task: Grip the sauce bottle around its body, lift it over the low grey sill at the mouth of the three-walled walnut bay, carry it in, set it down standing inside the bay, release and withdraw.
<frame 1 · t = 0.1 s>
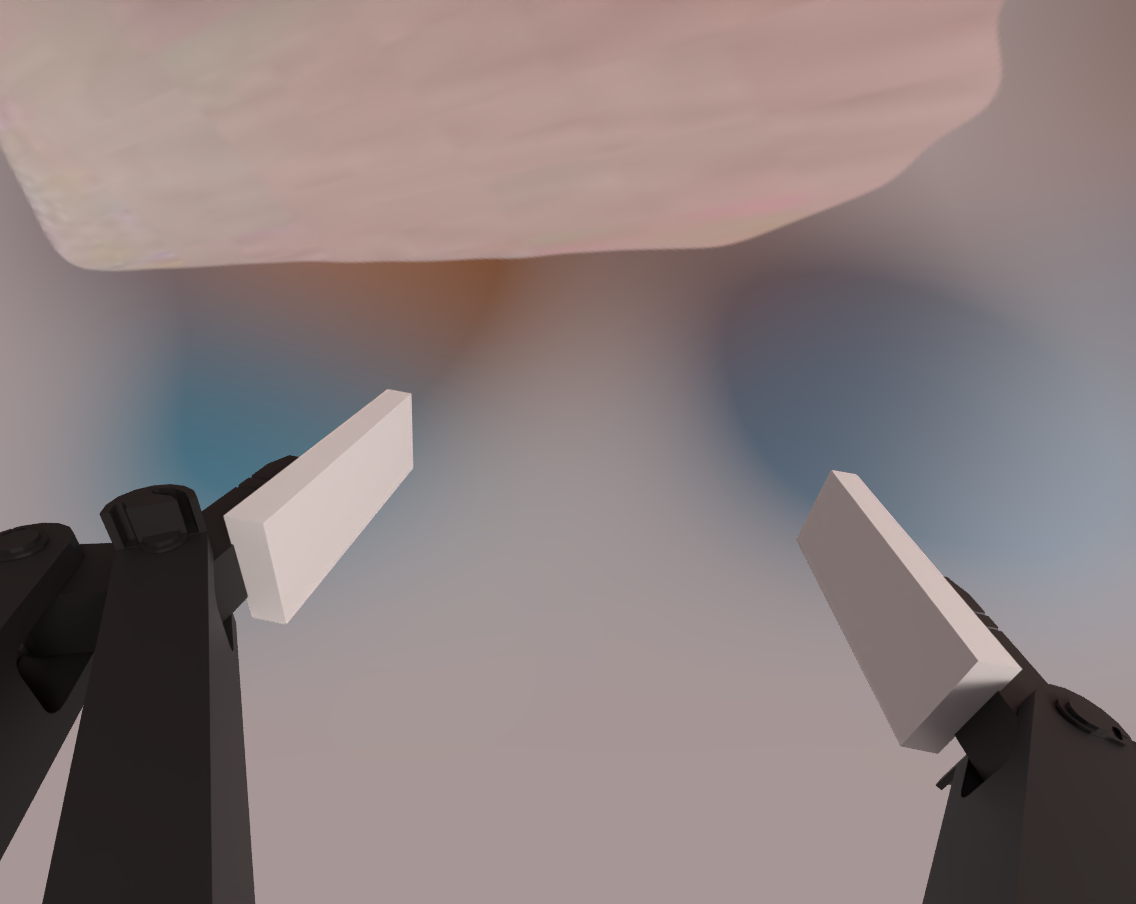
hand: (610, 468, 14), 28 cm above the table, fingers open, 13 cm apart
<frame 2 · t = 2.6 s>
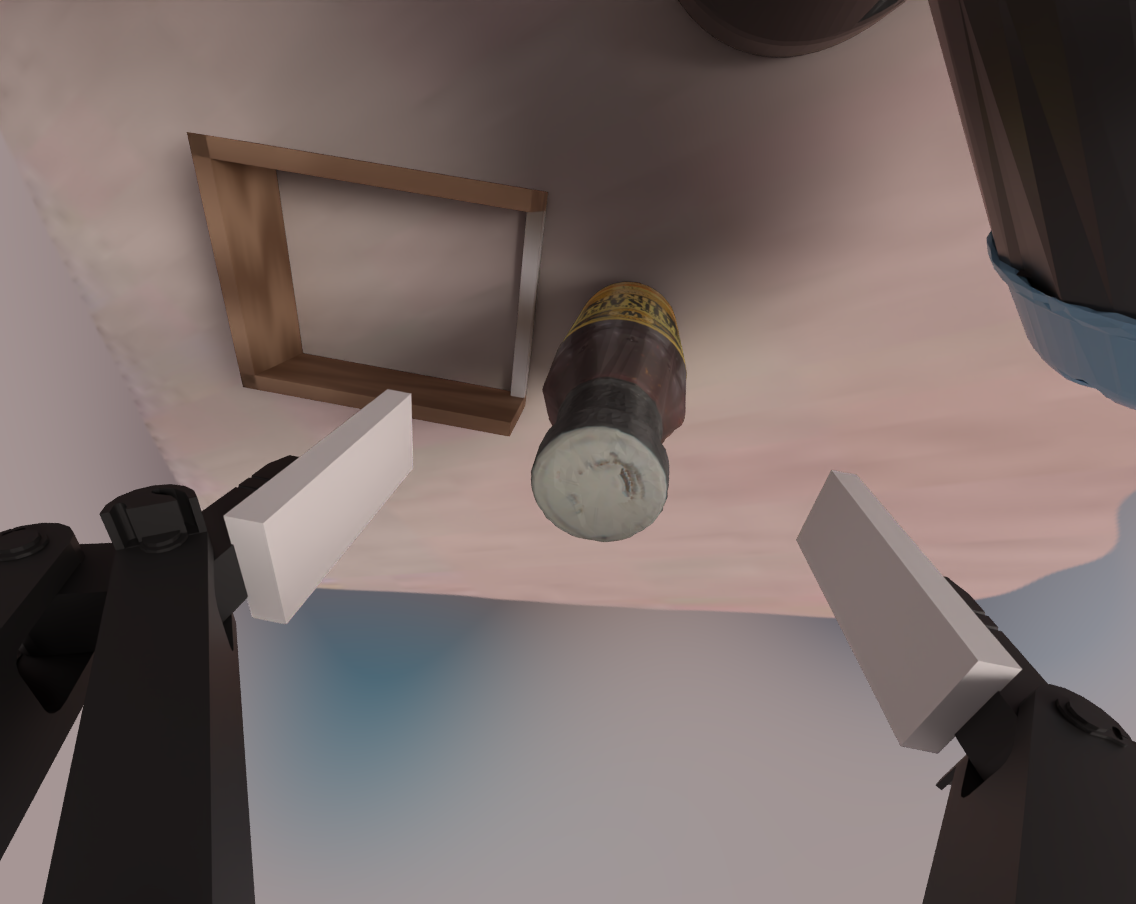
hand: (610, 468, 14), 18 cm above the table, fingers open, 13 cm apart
bay: (404, 288, 31), on the table
sauce bottle: (623, 326, 30), on the table
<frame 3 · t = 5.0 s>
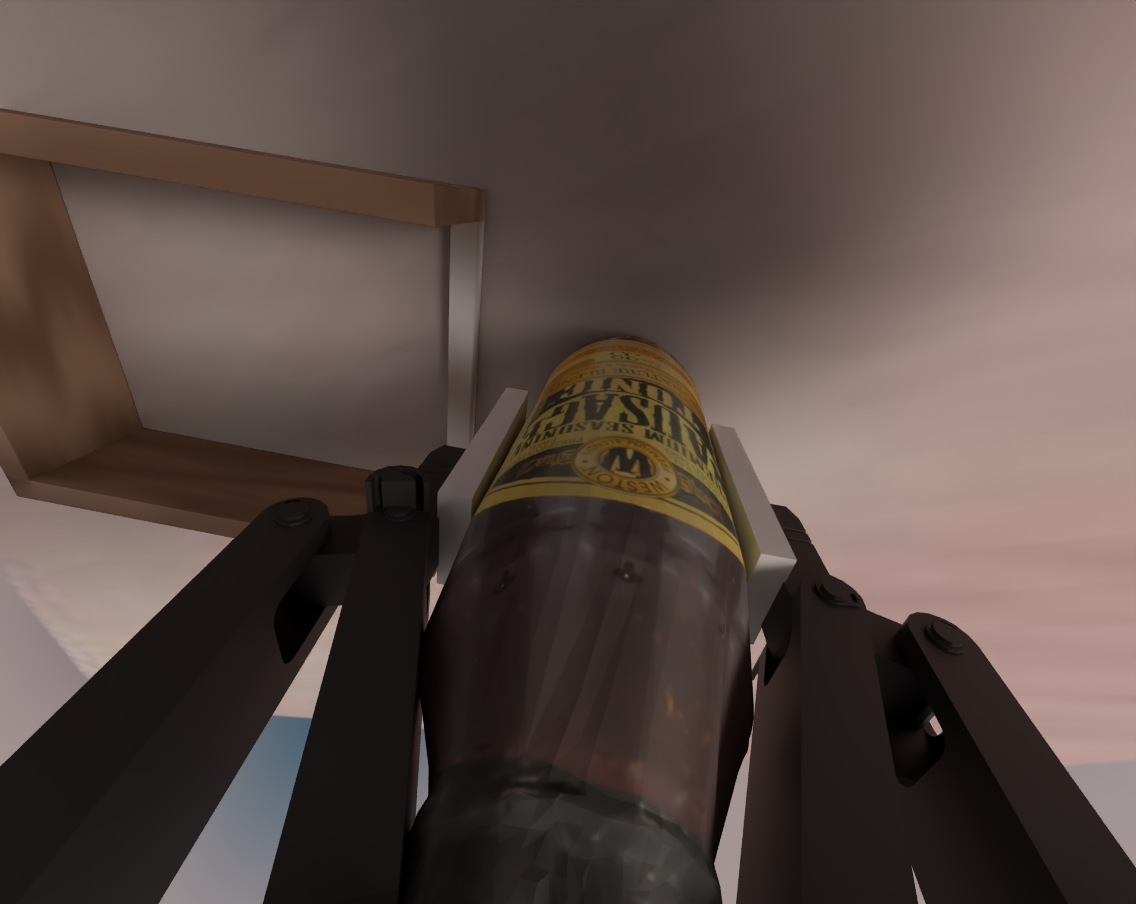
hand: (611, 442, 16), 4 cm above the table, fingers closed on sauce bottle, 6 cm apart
bay: (275, 339, 20), on the table
sauce bottle: (614, 398, 20), on the table, touching gripper
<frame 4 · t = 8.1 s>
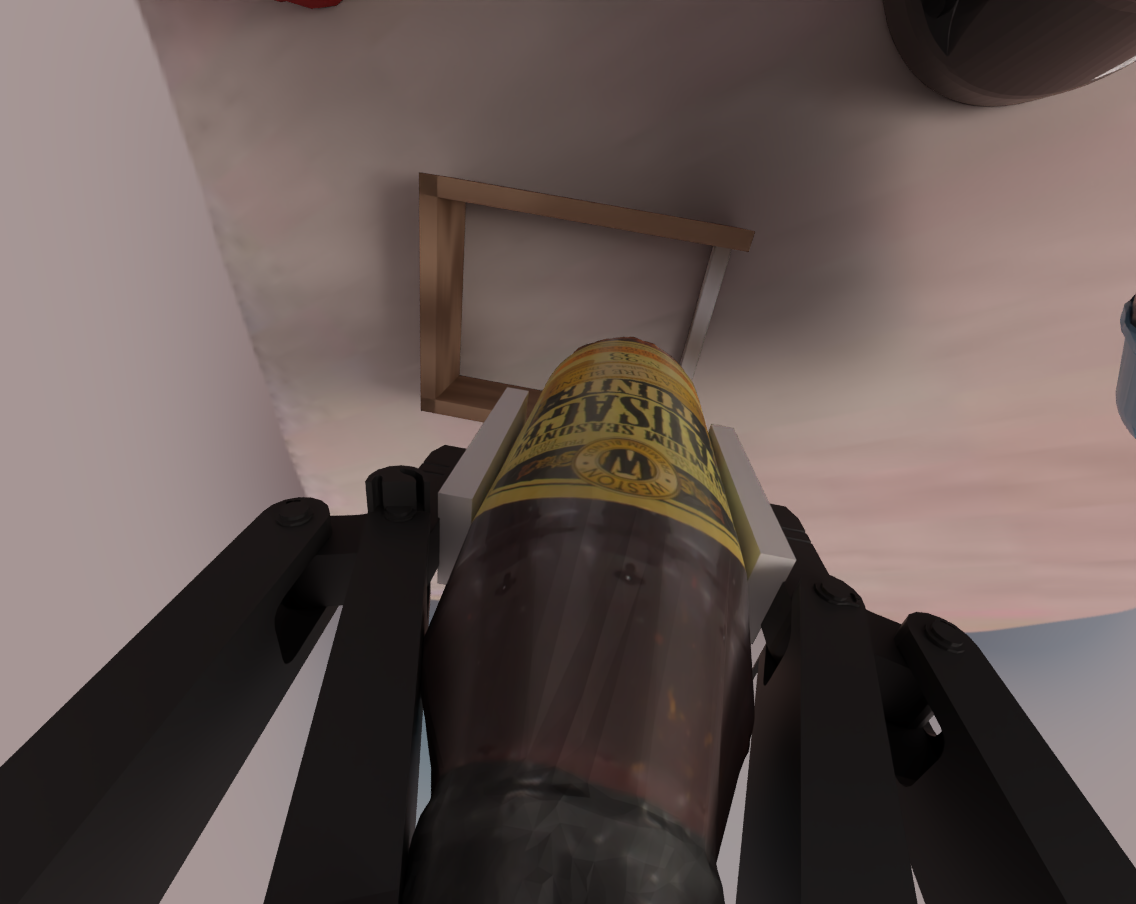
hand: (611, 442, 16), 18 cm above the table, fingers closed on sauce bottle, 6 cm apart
bay: (574, 315, 32), on the table
sauce bottle: (614, 399, 20), point 14 cm above the table, touching gripper
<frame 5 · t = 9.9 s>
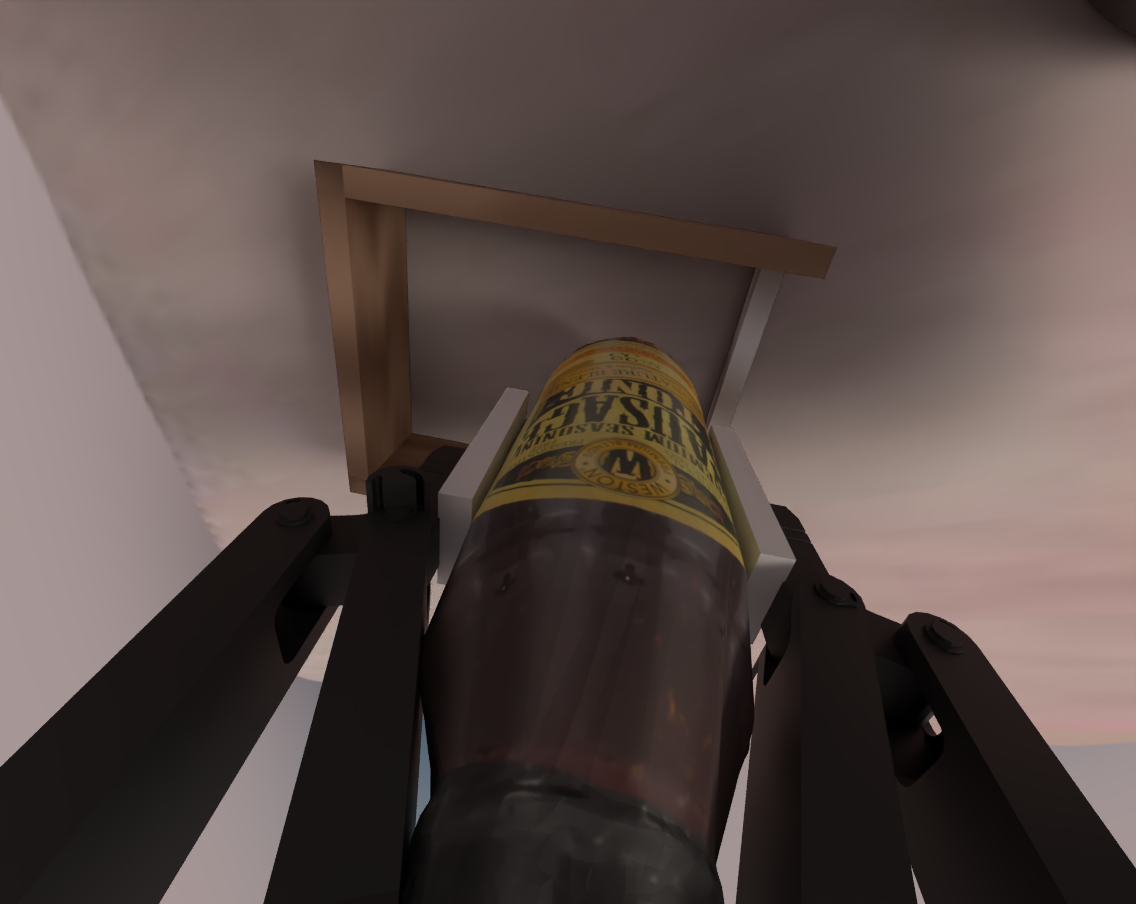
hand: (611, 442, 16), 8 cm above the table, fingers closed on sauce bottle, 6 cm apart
bay: (561, 358, 23), on the table
sauce bottle: (614, 399, 20), point 4 cm above the table, touching gripper
when the fingers open (5 cm above the table, at t = 11.2 s): sauce bottle drops 1 cm, resting in bay.
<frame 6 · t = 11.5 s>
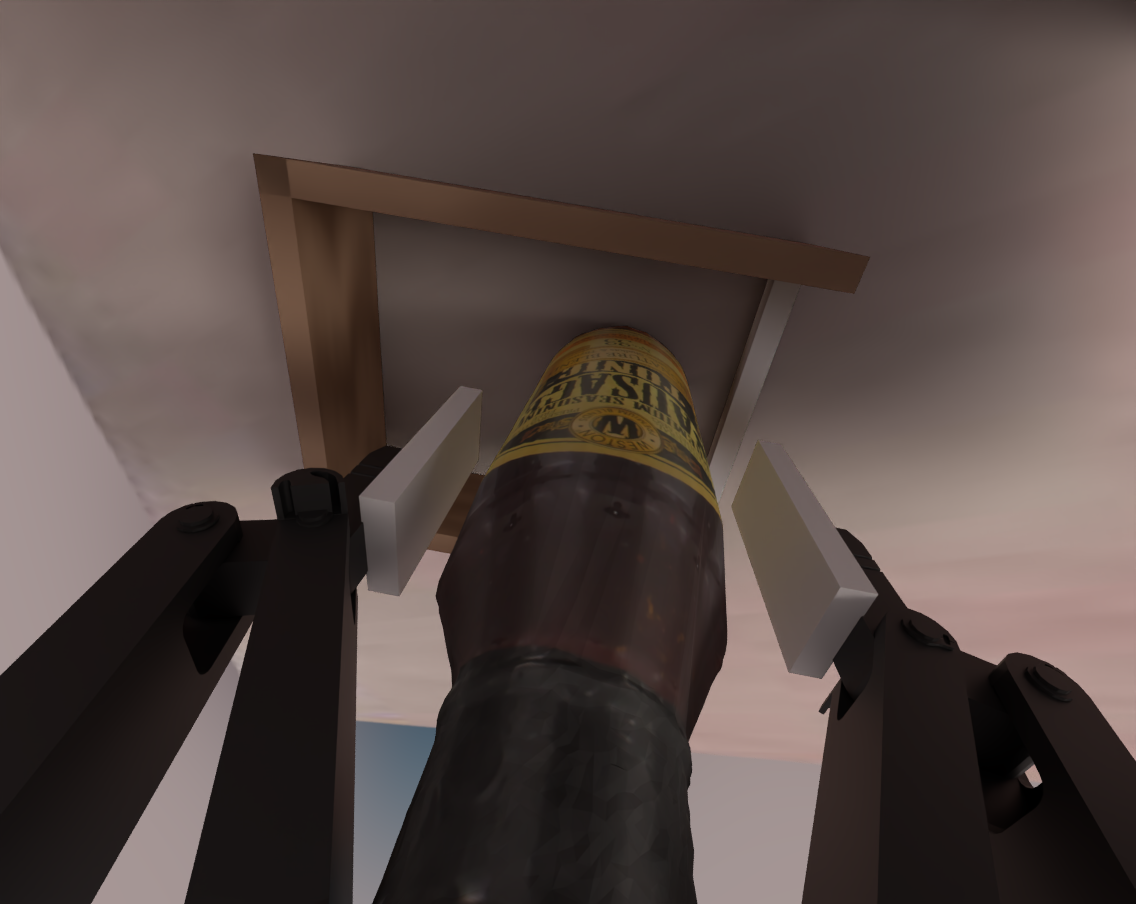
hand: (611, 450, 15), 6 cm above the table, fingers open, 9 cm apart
bay: (550, 376, 21), on the table
sauce bottle: (609, 385, 21), resting in bay
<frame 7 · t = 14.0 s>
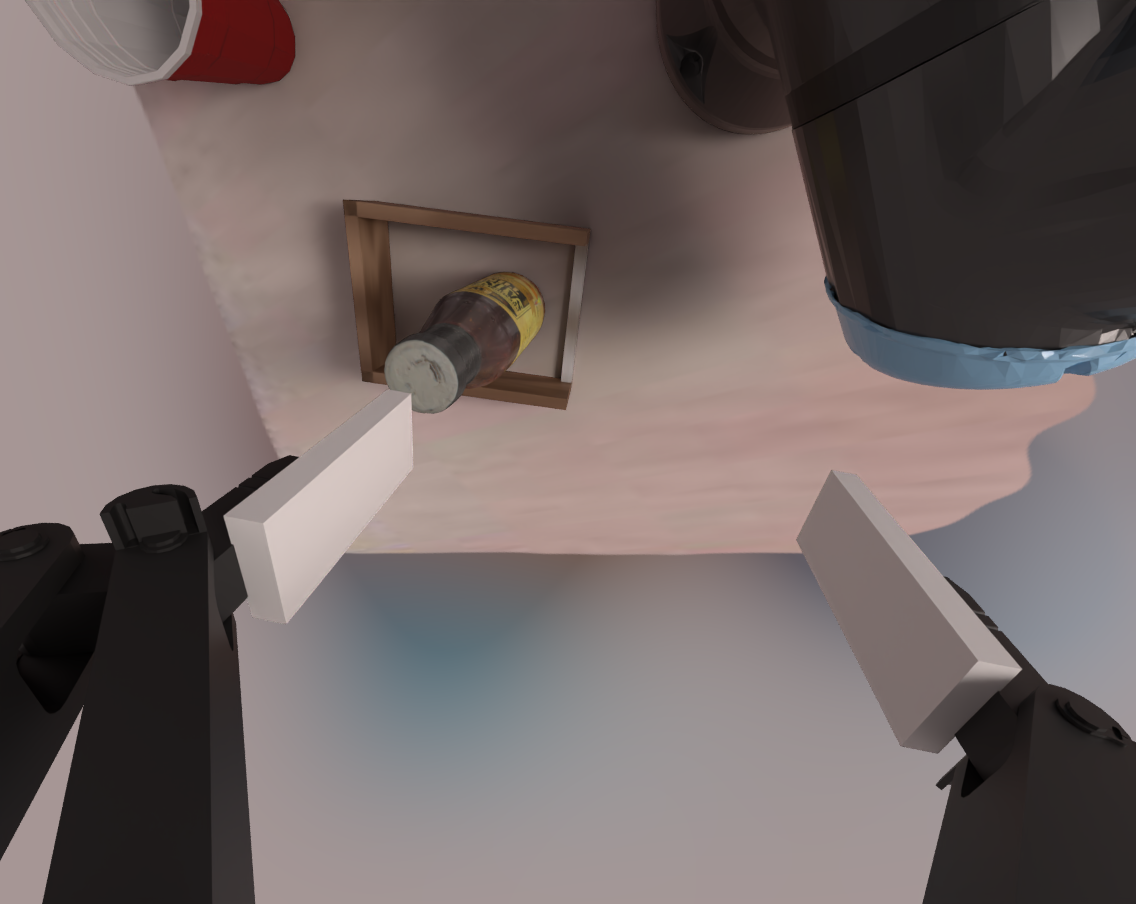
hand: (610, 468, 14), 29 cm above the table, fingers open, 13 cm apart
bay: (480, 302, 41), on the table
plastic cup: (257, 32, 33), on the table
sauce bottle: (510, 306, 41), resting in bay
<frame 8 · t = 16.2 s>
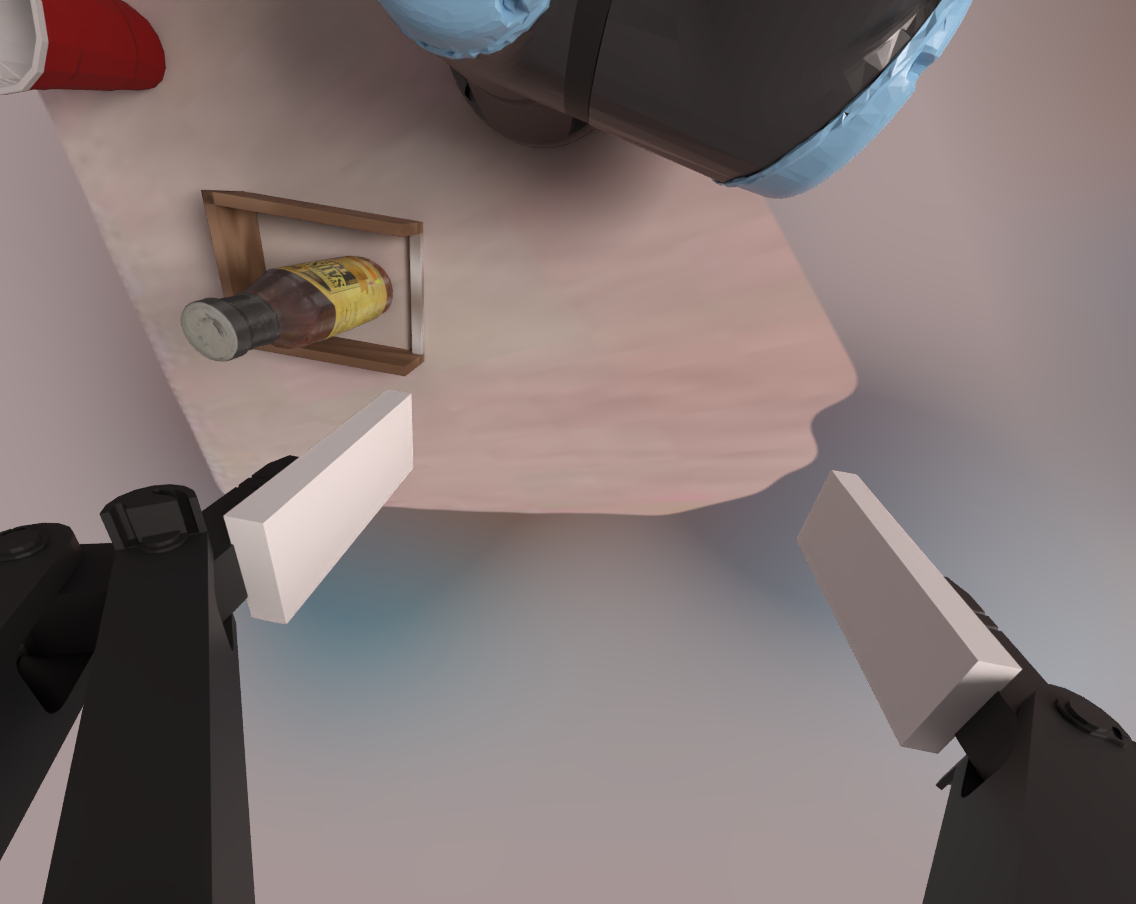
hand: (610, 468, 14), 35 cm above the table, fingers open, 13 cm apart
bay: (339, 282, 48), on the table
plastic cup: (133, 46, 40), on the table
sauce bottle: (366, 286, 48), resting in bay
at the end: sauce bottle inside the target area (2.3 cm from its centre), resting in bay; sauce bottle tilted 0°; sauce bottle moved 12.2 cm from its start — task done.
